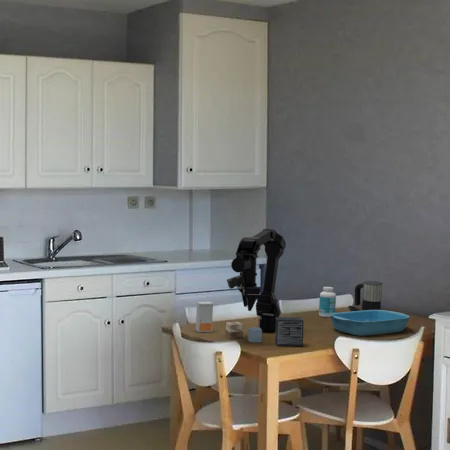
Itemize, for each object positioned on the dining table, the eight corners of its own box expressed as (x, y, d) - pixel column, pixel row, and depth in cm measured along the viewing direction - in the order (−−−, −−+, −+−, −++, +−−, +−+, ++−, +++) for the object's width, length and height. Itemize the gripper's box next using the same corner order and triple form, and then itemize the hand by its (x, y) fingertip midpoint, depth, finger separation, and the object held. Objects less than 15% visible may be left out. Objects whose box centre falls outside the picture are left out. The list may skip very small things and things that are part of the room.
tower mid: (238, 329, 360) (238, 321, 360) (242, 331, 355) (242, 324, 355) (226, 329, 359) (226, 322, 359) (229, 332, 354) (229, 324, 354)
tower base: (237, 336, 361) (237, 329, 361) (242, 339, 356) (243, 331, 356) (224, 336, 359) (225, 329, 359) (230, 339, 354) (230, 332, 354)
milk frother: (383, 312, 425) (384, 281, 424) (375, 317, 411) (377, 286, 410) (354, 309, 431) (355, 279, 430) (345, 314, 416) (347, 283, 415)
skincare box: (198, 332, 364) (198, 303, 363) (195, 330, 368) (196, 301, 367) (212, 332, 366) (213, 303, 365) (209, 330, 370) (210, 301, 369)
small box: (301, 343, 351) (302, 316, 350) (303, 346, 344) (304, 320, 343) (274, 342, 350) (275, 316, 350) (275, 346, 344) (277, 319, 343)
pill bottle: (331, 318, 405) (333, 289, 404) (316, 316, 408) (317, 287, 407) (337, 316, 412) (338, 287, 410) (322, 314, 415) (323, 285, 414)
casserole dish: (381, 322, 401) (382, 307, 400) (418, 331, 382) (419, 315, 382) (319, 329, 379) (320, 313, 379) (355, 340, 361) (356, 322, 361)
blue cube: (258, 339, 355) (259, 327, 354) (261, 342, 350) (262, 329, 350) (247, 339, 354) (248, 327, 353) (250, 342, 349) (250, 329, 349)
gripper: (225, 266, 359) (223, 304, 361) (232, 272, 341) (231, 313, 342) (252, 266, 361) (250, 304, 363) (261, 273, 343) (259, 313, 344)
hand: (247, 308), depth 353 cm, fingers open, 9 cm apart
